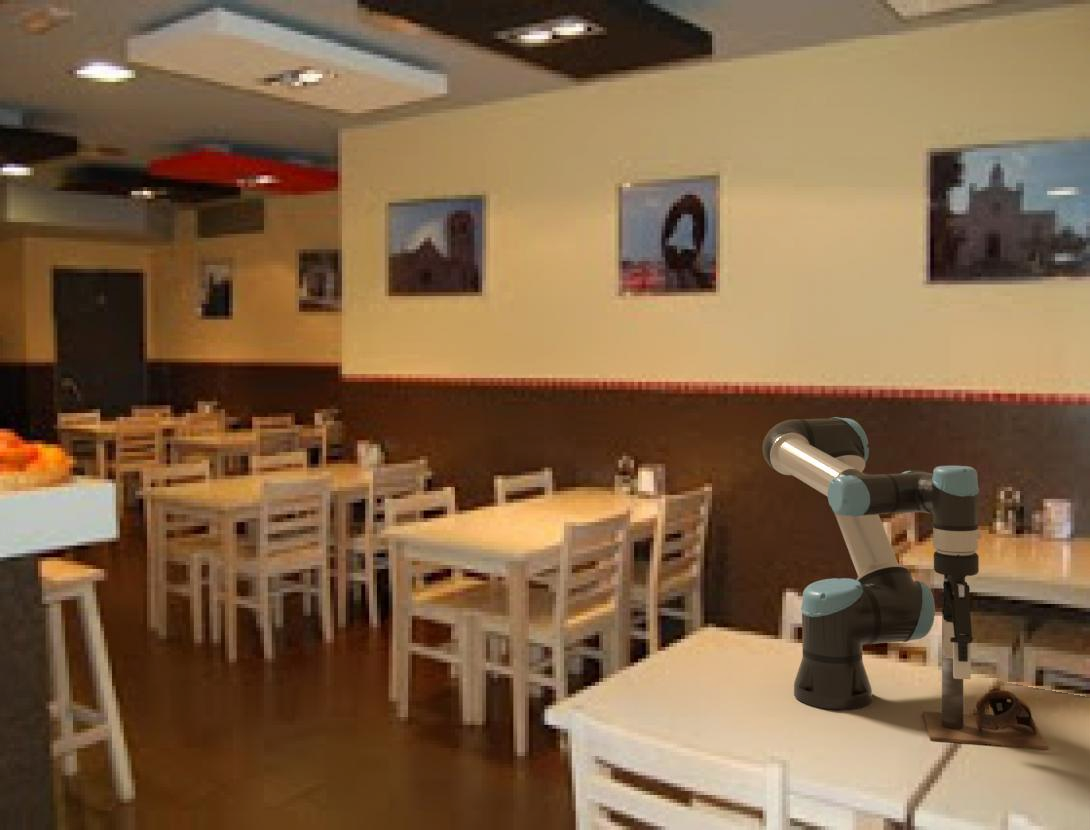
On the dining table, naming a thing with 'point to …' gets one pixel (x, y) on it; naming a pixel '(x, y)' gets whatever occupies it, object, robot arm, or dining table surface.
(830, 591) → the robot arm
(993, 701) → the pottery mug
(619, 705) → the dining table surface
